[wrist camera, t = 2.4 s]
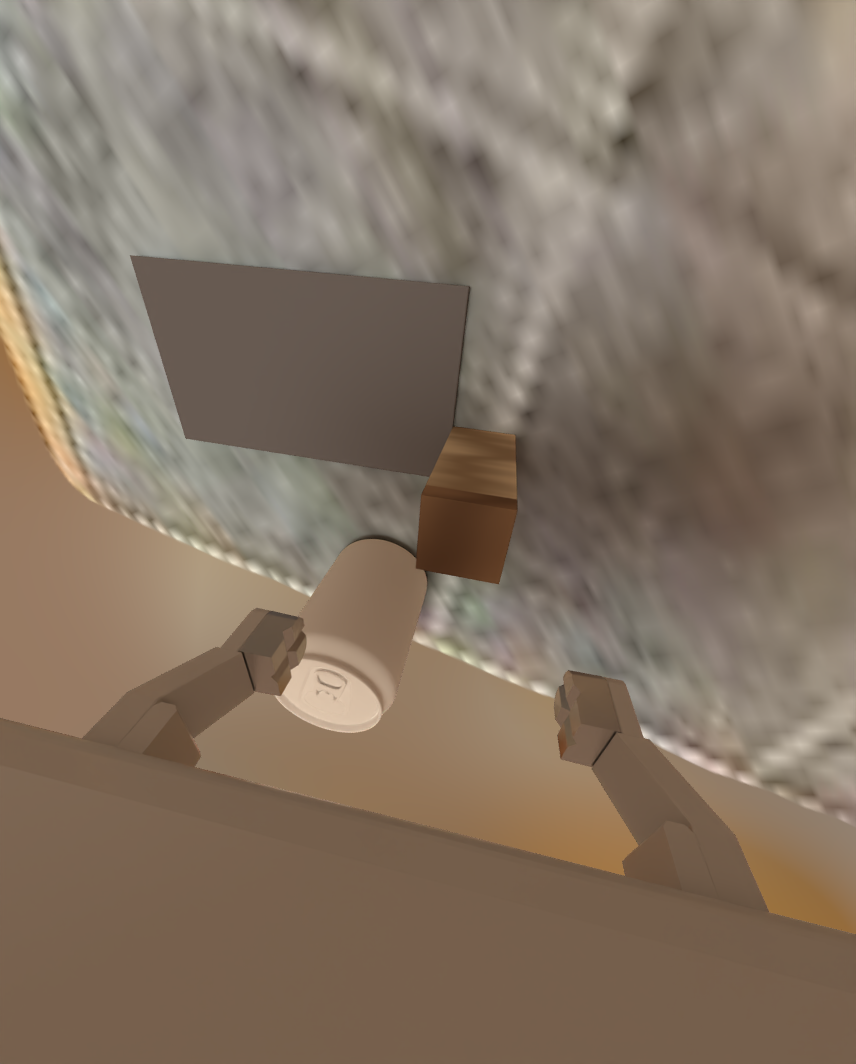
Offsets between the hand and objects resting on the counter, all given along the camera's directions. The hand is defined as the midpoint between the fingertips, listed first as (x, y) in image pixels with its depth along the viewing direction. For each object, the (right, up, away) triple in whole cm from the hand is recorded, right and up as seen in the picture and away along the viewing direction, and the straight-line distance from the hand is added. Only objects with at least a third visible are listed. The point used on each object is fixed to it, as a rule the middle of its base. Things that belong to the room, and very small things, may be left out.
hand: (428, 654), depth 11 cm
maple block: (+3, +9, +13) cm, 16 cm away
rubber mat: (-8, +14, +12) cm, 20 cm away
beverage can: (-4, 0, +20) cm, 21 cm away
